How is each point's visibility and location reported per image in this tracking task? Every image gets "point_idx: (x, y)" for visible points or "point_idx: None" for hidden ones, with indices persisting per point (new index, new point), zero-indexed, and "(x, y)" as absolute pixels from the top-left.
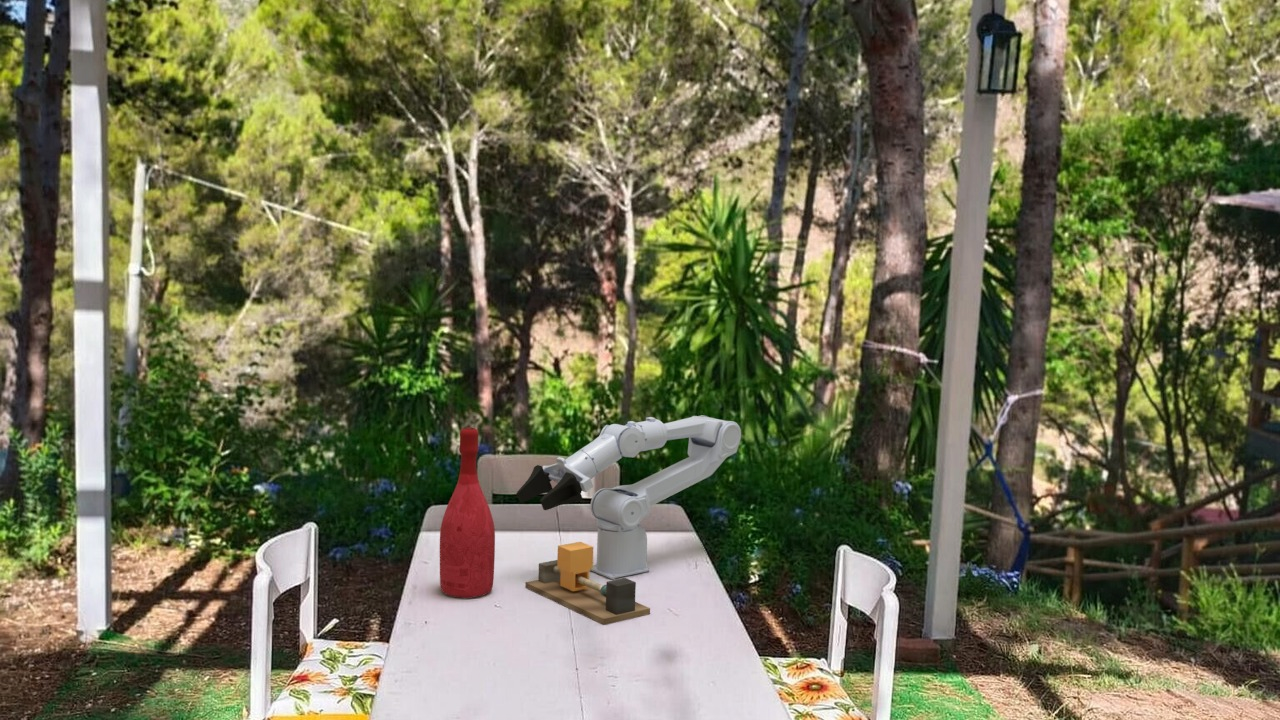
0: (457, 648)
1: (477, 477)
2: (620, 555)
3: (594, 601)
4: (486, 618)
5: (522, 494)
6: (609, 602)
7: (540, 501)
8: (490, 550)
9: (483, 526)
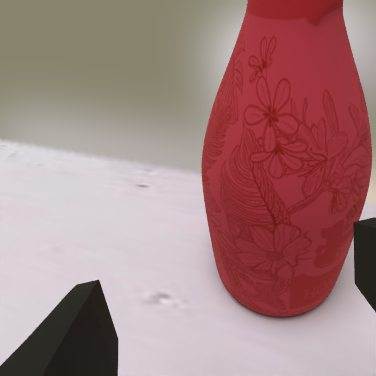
0: (28, 201)
1: None
2: None
3: None
4: (106, 261)
5: (368, 255)
6: None
7: (99, 287)
8: (221, 237)
9: (206, 165)
